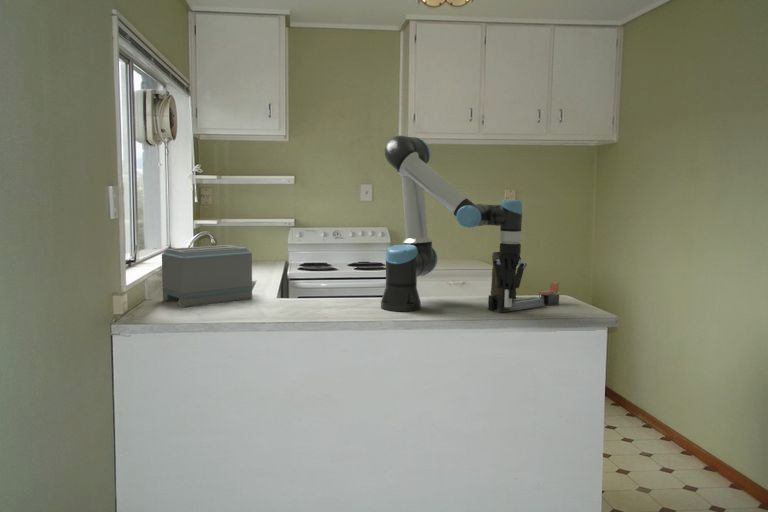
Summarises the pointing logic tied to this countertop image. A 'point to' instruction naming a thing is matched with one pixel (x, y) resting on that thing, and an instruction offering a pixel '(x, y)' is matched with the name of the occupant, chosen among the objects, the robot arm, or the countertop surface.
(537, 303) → the tong arm
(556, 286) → the lock tab
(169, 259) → the toaster
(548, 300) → the tongs base
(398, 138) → the robot arm
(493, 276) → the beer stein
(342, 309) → the countertop surface
